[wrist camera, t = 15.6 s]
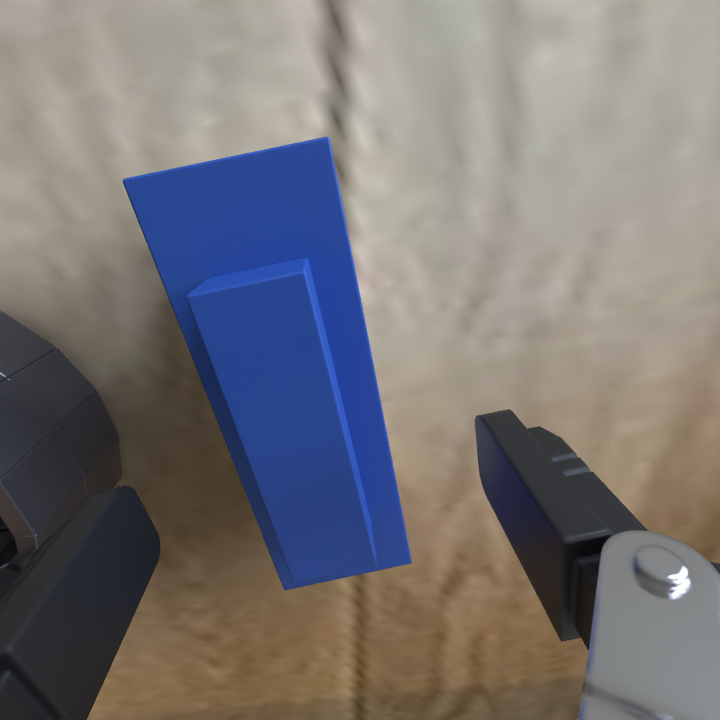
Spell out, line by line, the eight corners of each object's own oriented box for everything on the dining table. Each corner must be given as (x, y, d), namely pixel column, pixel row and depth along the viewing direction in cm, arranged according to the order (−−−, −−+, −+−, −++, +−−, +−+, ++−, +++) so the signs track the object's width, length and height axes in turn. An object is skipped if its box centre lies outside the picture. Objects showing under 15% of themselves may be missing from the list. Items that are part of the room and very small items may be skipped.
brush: (180, 181, 13) (76, 177, 7) (326, 150, 13) (331, 124, 7) (291, 507, 19) (279, 642, 13) (393, 485, 19) (423, 611, 13)
